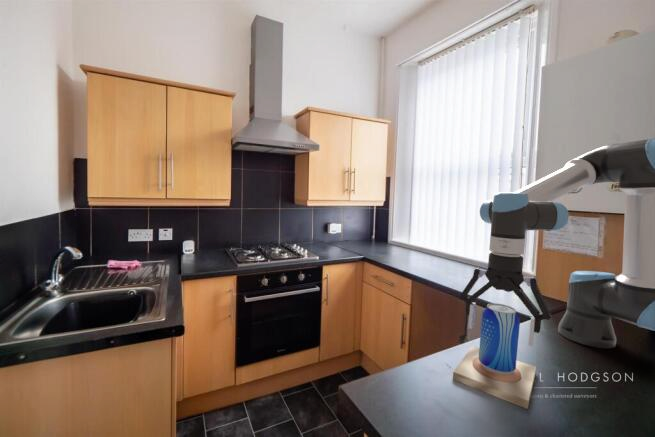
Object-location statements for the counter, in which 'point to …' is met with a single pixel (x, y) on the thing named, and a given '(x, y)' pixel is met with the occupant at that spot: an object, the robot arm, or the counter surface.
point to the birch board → (497, 379)
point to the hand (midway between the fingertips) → (499, 335)
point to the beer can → (499, 339)
